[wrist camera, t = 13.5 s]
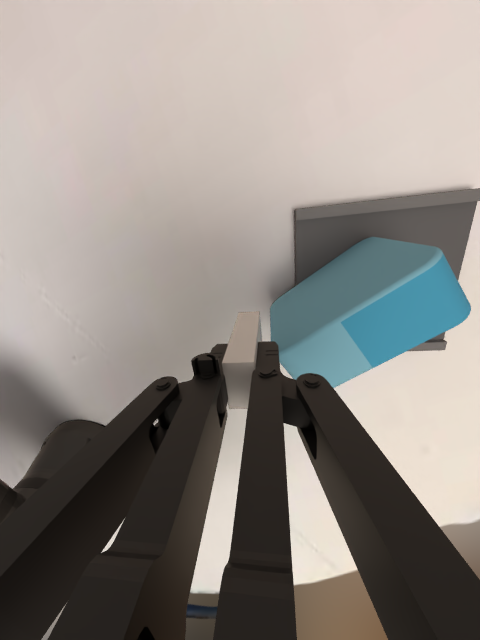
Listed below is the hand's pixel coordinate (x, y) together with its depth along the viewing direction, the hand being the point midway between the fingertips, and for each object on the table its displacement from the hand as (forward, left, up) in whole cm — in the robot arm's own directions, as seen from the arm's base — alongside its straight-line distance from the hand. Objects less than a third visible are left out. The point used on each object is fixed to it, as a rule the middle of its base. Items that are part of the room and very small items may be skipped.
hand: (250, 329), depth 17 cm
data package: (+7, 0, -11) cm, 13 cm away
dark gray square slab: (+12, 0, -12) cm, 17 cm away
